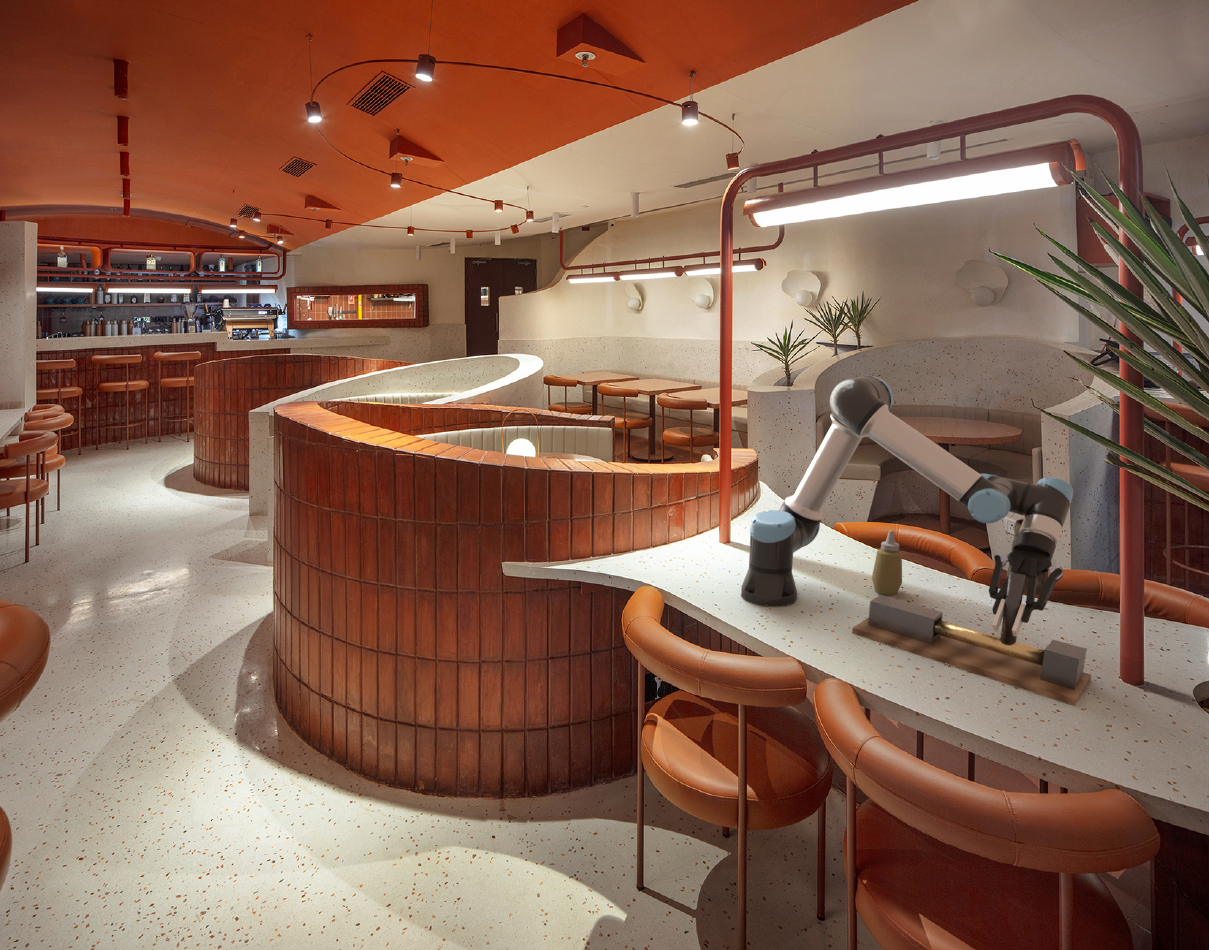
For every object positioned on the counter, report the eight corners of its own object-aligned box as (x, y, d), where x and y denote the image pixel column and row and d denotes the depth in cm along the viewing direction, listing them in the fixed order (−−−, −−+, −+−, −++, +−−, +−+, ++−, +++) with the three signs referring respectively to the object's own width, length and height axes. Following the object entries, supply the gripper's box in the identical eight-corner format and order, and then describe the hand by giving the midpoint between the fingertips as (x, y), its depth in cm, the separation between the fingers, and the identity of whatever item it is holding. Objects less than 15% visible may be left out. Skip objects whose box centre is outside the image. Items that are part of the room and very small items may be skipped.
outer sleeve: (868, 624, 166) (870, 600, 165) (878, 618, 170) (880, 594, 169) (931, 644, 156) (934, 619, 155) (940, 637, 160) (943, 612, 159)
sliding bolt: (918, 631, 159) (926, 555, 155) (924, 627, 161) (932, 552, 157) (1052, 671, 140) (1065, 586, 136) (1056, 666, 142) (1069, 582, 138)
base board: (852, 633, 165) (852, 627, 165) (876, 616, 175) (877, 611, 175) (1074, 705, 133) (1076, 698, 133) (1090, 680, 143) (1091, 674, 142)
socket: (1040, 679, 140) (1044, 649, 139) (1048, 668, 145) (1052, 639, 143) (1074, 690, 136) (1079, 659, 135) (1081, 678, 141) (1086, 648, 139)
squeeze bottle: (904, 598, 187) (910, 536, 184) (873, 595, 189) (878, 534, 185) (897, 587, 195) (903, 527, 191) (868, 585, 197) (873, 526, 193)
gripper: (1080, 556, 148) (1050, 650, 140) (999, 540, 159) (966, 626, 151) (1078, 538, 143) (1046, 635, 135) (995, 523, 154) (961, 611, 147)
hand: (1004, 630), depth 143 cm, fingers closed on sliding bolt, 3 cm apart
